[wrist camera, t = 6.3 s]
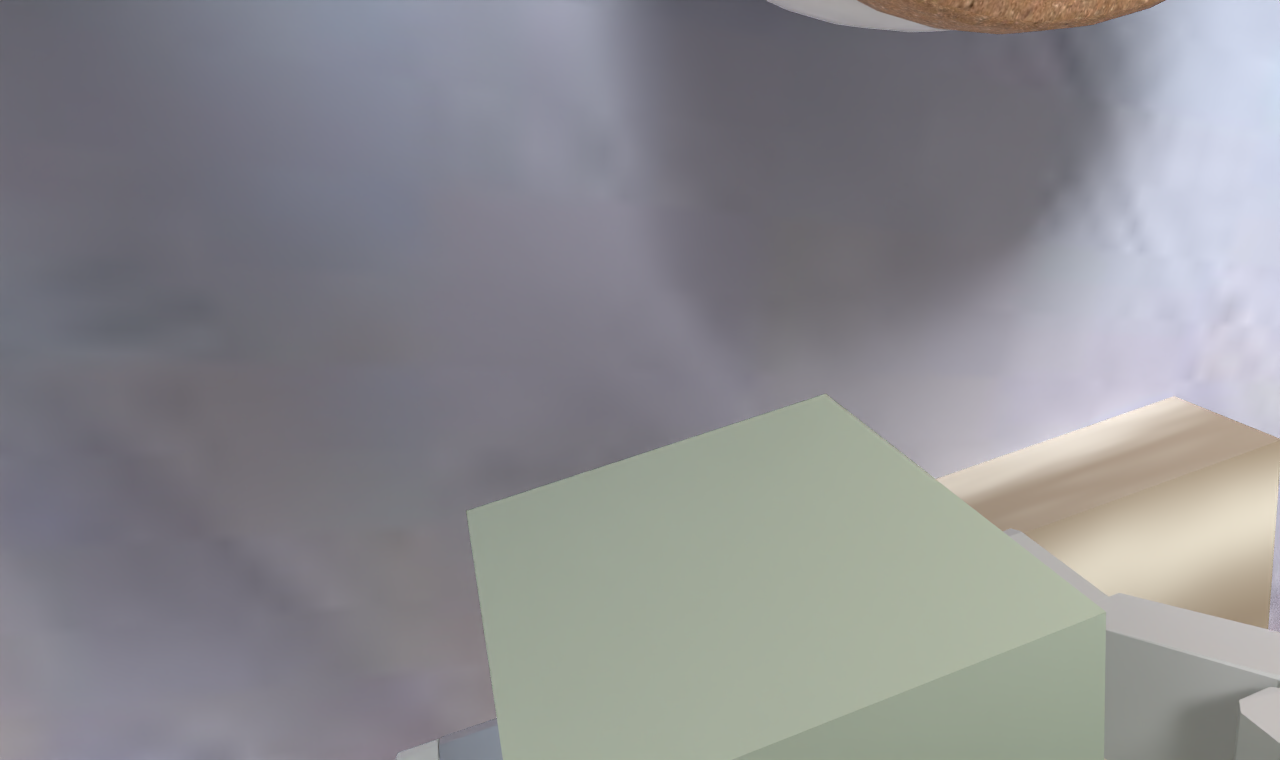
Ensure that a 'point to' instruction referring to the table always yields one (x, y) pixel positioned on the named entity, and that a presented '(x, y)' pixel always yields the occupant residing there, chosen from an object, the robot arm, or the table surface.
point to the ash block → (1147, 506)
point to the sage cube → (778, 610)
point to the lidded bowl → (965, 13)
